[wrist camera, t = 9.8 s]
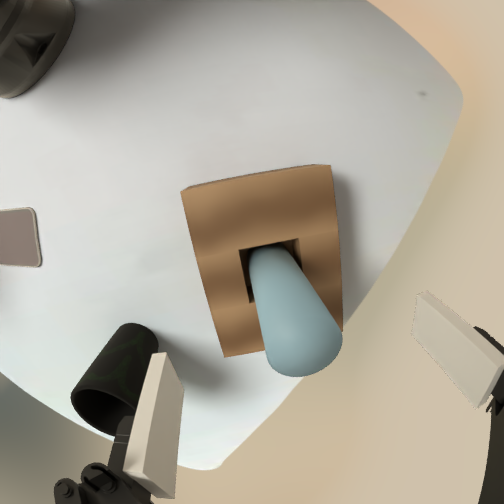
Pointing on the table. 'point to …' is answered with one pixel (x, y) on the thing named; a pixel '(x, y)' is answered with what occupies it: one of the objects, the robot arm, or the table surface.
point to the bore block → (262, 242)
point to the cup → (115, 378)
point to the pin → (291, 314)
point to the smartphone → (19, 238)
